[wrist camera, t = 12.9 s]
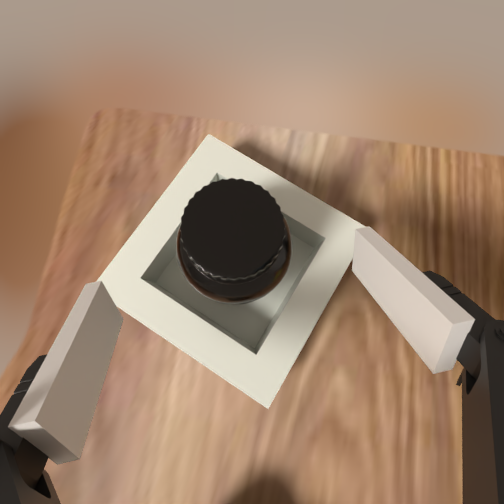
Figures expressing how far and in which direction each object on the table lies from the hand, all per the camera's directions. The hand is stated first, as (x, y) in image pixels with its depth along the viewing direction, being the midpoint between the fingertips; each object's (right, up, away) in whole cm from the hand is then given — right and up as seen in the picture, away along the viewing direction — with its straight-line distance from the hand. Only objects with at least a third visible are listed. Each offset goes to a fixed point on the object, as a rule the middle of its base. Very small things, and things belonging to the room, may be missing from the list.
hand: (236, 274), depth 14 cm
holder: (-1, 0, +10) cm, 10 cm away
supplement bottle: (0, 0, +10) cm, 10 cm away
